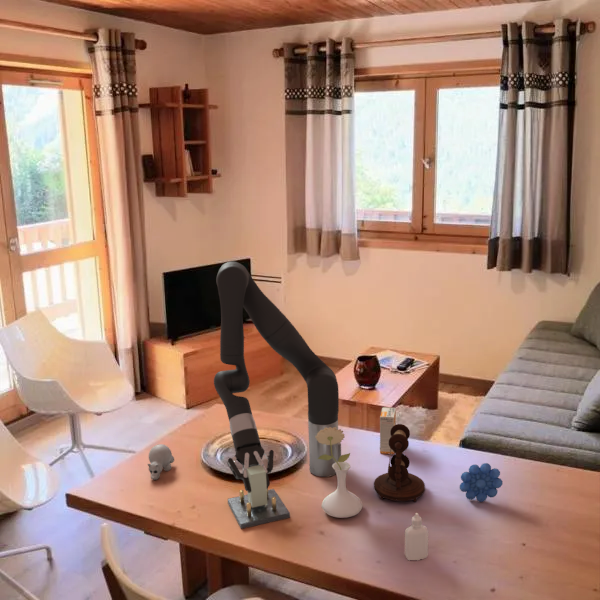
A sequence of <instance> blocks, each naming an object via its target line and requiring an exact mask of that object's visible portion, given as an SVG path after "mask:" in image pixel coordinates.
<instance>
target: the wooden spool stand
mask: <svg viewBox="0 0 600 600" xmlns="http://www.w3.org/2000/svg"><path fill="white" fill-rule="evenodd" d="M390 434H391V437H390V439H389V446H390V454H389V456H390V457H389V460H388V467H387V472H385V473H382V474H380V475H378V476H377V477H376V478H375V479H374V481H373V490H374V492H375V493H376V494H377V495H379V498H380V500H383V499H387V500H391V501H398V502H406V501H413V502H414V503H416V501H417V499H418V498H420V497H421V496H422V495H423V494H424V493H425V491H426V489H425V488H426V484H425V481H424V480H423V479H422V478H421V477H419V476H417V475H415V474H413V473H411V472H409V470H408V468H409V467H410V459H409V457H408V456H407V454H404V452H406V450H407V449H408V448H409V444H410V443H409V438H410V435H411V431H410V428H409V427H408V426H406V425H405V424H402V423H397V424H396V425H394V426H393V427H392V428H391V431H390ZM391 449H392V450H393V451H394V454H391ZM391 455H392V456H391Z"/></svg>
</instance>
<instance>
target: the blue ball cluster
mask: <svg viewBox="0 0 600 600" xmlns="http://www.w3.org/2000/svg"><path fill="white" fill-rule="evenodd" d="M500 475H501V471H500V469H498V468H492V466H491V464H489V463H487V462H484V463H482V464H481V465H480V466H479V464H471V465H470V466H469V468H468V471H464V472H463V473H461V475H460V479H461V481H462V482H461V483H460V485H459V490H460V492H462V493H465V497H466V499H467V500H475V499H476V501H478V502H479V503H483V502H485V501H486V500H487V498H495V497H497V495H498V489H500V488H501V487H502V486H503V480H502V479H501V478H499V477H500Z"/></svg>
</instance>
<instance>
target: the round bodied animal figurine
mask: <svg viewBox="0 0 600 600" xmlns="http://www.w3.org/2000/svg"><path fill="white" fill-rule="evenodd" d="M172 454H173V453H172V450H171V449H170V447H168V446H167V445H166V444H163V443H160V444H156V445H154V446H152V447H151V448H150V450H149V453H148V460H149V463H147V466H148V471H149V473H150V479H151V480H153V481H156V480H158V479H159V478H160V476H161V473H162V471H165V472H169V471H170V470H172V465H171V464H173V463H174V462H175V457H174V455H172Z"/></svg>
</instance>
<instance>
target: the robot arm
mask: <svg viewBox="0 0 600 600" xmlns="http://www.w3.org/2000/svg"><path fill="white" fill-rule="evenodd" d="M215 280H216V285H217V291H218V296H219V304H220V316H221V317H220V319H221V321H220V322H221V323H220V334H219V335H220V339H219V341H220V342H219V343H220V345H219V347H220V348H219V349H220V350H219V351H220V353H219V357H220V361H221V363H223V364H225V365H227V366H228V365H231V366H235V369H228V370H221V371H218V372H217V373H215V375H214V377H213V385H214V389H215V391H216V392H217V394H218V396H219V398H220V399H221V401H222V403H223V405H224V407H225V410H226V413H227V418H228V422H229V430H230V436H231V438H232V443H233V447H234V451H235V455H234V456H233V457H229V458H228V459H227V461H226V464H227V467H228V468H229V469H230V471H231V473H232V475H233V476H234V478H235V479H236V480H242V482H243V484H244V485H243V486H244V490H245V491H246V492H247V491H248V492H247V494H248V493H250V492H251V486H250V482H249V478H248V473H247V468H248V467H252V466H257V465H260V466H262V467H263V468H264V470H265V471H266V484H267V489H268V490H269V487H270V486H271V485H270V484H271V483H270V479H269V475H268V474H271V473H272V471H273V470H274V454H275V453H274V450H273V449H270V450H265V449H264V448H263V447H262V444H261V439H260V435H259V431H258V428H257V424H256V421H255V419H254V416H253V412H252V408H251V403H250V401H249V399H248V398H247V397H244V396H241V395H240V396H239V395H235V394H238V393H244V392H247V390H248V389H249V386H250V384H251V383H250V377H249V374H248V370H247V367H246V366H247V365H246V362H245V334H244V333H245V332H244V320H243V319H244V317H243V310H245V312H246V313H247V315H248V316H249V318H250V319H251V322H252V324H253V325H254V328H256V330H257V331H258V334H260V336H261V337H262V338H263V339H264V340H265V342H266V343H267V344H268V345H269V346H270V348H272V350H273V351H275V352H276V353H277V354H278V355H279V356H280V357H282V358H283V359H285V360H286V361H288V362H289V363H291V365H292V366H293V367H294V368H295V369H296V371H298V373H299V374H300V375H301V377H302V379H303V380H304V381H305V383H306V388H307V404H308V405H307V424H308V426H307V427H308V453H309V455H308V456H309V457H308V458H309V459H308V460H309V472H310V473H311V474H312V475H314V476H316V477H322V478H323V477H324V478H325V477H331V476H335V475H337V474H336V472H335V470H334V469H333V467H332V465H333V464H334V463H336V461H337V462H338V459H339V458H340V456H341V455H342V442H340V443H337V444H333V445H332V455H333V457H334V458H335V459H336V461H335V460H334V459H333V457H332V458H331V459H330V460H322V459H318V458H319V457H320V456H321V455H325V454H326V455H330V456H332V455H331V446H330V445H326V444H321V443H319V442H318V441H317V440H316V438H315V436H317V433H318V432H319V431H320V430H324V428H329V427H331V428H334V427H336V430H339V411H340V410H339V405H340V404H339V403H340V402H339V393H340V392H339V384H338V379H337V376H336V374H335V372H334V370H333V369H332V368H330V367H329V365H328V364H326V363H325V362H324V361H323V360H322V359H321V358H320V357H319V356H318V355H317V354H315V352H314V351H313V350H312V349H311V348H310V346H309V345H308V343H307V341H306V340H305V339H304V337H303V336H302V335H301V333H299V331H298V329H296V327H295V326H294V325H293V323H292V322H291V320H289V319H288V317H286V315H285V314H284V313H283V312H282V311H281V310H280V308H278V307H277V306H276V305H275V304H274V303H273V302H272V300H271V299H269V297H267V296H266V294H264V292H263V291H262V290H261V288H260V287H259V286H258V285H257V283H256V282H255V280H254V279H253V277H252V275H251V274H250V273H249V271H248V269H247V268H246V266H244V265H243V264H242V263H239V262H237V261H228V262H225V263H223V264H222V265H221V267H220V268H219V269H218V272H217V275H216V279H215ZM264 456H265V459H267V467H266V466H265V463H264V461H263V460H262V459H263V457H264ZM237 462H238V463H239V464H240V465H242V468H241V469H242V471H240V470H239V468H238V466H237V465H236V464H237Z"/></svg>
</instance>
